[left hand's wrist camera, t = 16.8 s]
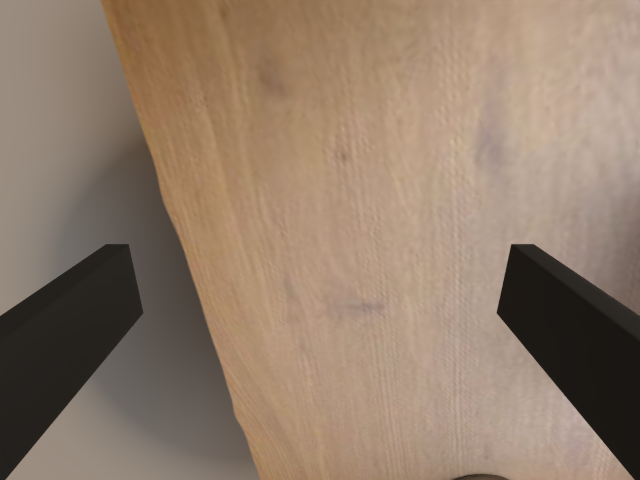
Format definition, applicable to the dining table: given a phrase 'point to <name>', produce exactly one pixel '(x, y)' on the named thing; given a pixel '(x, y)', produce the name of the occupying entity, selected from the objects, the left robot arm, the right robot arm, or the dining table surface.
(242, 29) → the dining table surface
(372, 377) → the dining table surface
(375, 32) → the dining table surface
